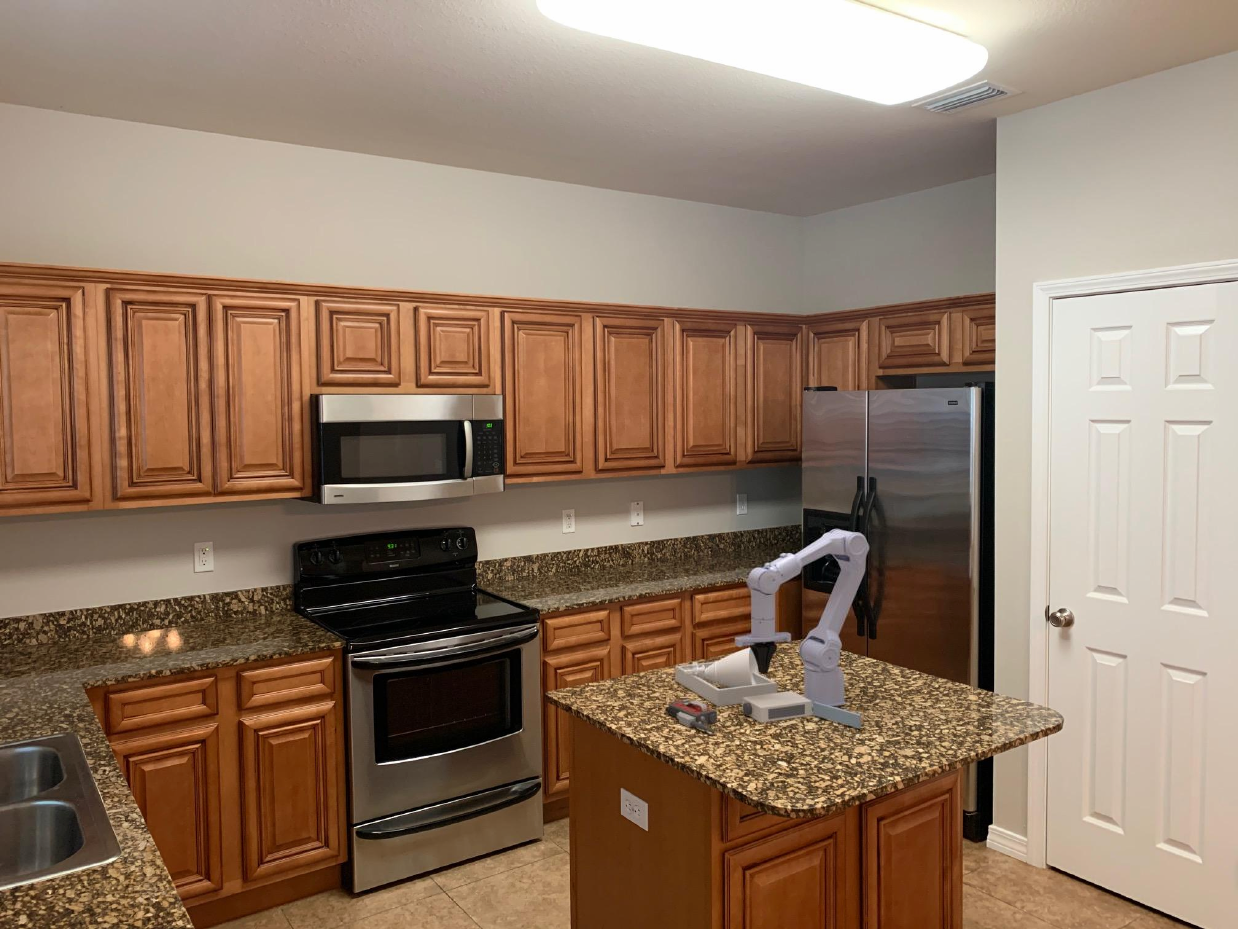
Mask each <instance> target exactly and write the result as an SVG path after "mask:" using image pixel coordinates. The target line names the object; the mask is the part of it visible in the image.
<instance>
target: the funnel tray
mask: <svg viewBox="0 0 1238 929" xmlns="http://www.w3.org/2000/svg"><path fill="white" fill-rule="evenodd" d="M715 662H716V661H712V662H711V661H709V662H702V663H701V662H700V663H698V665H699V668H700V667H701V666H702V665H704V666H705V669H706V668H707V667H709V666H710V665H712V664H713V663H715ZM674 668H675V672H674V674H675V676H674V678H675V679H674V680H675V682H677V683H678V684H680V685H681V686H683V687H685V688H686V689H688V690H690V691H691V692H694V693H695V694H697V695H698V696H700V697H702V698H703V699H705V700H706V701H708V702H709V703H711V704H713V705H714V706H717V707H724V706H731V705H733V706H734V705H739V704H740V705H742V698H743V697H750V696H758V695H765V694H773V693H778V683H777V682H776V681H774V680H772V679H770V678H768V677H767V676H764V675H763V674H761V673H759V672H758V673H752V674H753V678H754V680H755V682H756V685H748V686H740V687H732V688H729V687H725V688H718V687H716V686H715V685H714V684H712V683H709V682H708V681H707V680H706V681H704V680H703V679H701V678H699V677H697V676H695V675H694V674H689V673H688V674H685V673H684V670H688V669H690V670H692V669H693V668H694V667H693V663H692V664H691V663H690V664H683V665H676V666H675V667H674ZM687 668H688V669H687ZM691 668H692V669H691Z"/></svg>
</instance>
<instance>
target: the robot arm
mask: <svg viewBox="0 0 1238 929" xmlns="http://www.w3.org/2000/svg"><path fill="white" fill-rule="evenodd" d="M869 550H870V545H869V543H868V541H867V539H866V536H865V535H864V534H862V533H861V532H858V531H857V532H855V531H854V532H852V531H849V530H848V531H847V530H843V529H840V528H834V529H832V530H830V531H828V532H826V533H824V534H823V535H822V536H821V537H820V538H818V539H817V540H815V541H814V542H812V543H811V544H809V545H807V546H806V547H805V548H803V549H801V550H800V551H798V552H797V553H795V554H793V553H790V552H788V553H784V552H783V553H781V554H779V558H777V559H775V560H773V561H771V562H766V563H764V566H763V567H755V568H753V569H752V570H751V571H750V573H749V574H748V577H747V578H746V580H745V582H746V584H747V587H748V588H749V590H750V596H751V597H750V600H751V601H750V604H751V605H750V608H751V609H750V611H751V614H750V616H751V618H750V619H751V620H750V622H751V624H750V625H751V626H750V627H751V632H750V634H747V635H743V636H737V637H734V646H736V647H738V648H742V647H746V646H749V648H751V650H752V652H753V654H754V656H755V659H756V662H757V668H758V674H760V675H767V674H768V673H769V669H770V665H771V662H772V659H773V656H774V655H775V653H776V651H777V650H778V645H777V644H776V643H781V642H783V643H784V642H788V643H789V642H790V643H791V641H792V633H790V632H787V631H784V632H776V592H777V591H778V590H779V589H780V585H782V584H784V583H786V582H787V581H790V580H791V579H793V578H794V577H797V576H798V575H800V574H801V571H802V569H803V567H804V566H805V565H808V564H810V563H812V562H814V561H817V560H818V559H820V558H822V557H824V556H827V555H832V556H833V558H834V559H835V560H836V561H837V562H838V566H839V568H840V571H839V572H840V573H839V575H838V577H837V580H836V581H835V584H834V586H833V589H832V592H831V594H830V595H829V599H828V601H827V603H826V606H825V608H824V611H823V612H822V615H821V616H820V617H821V618H820V620H819V621H818V622H819V623H818V625H817V626H816V627H814V628H813V629H812V630H810V631H809V632H808V634H807V636H806V638H805V639H803V641H801V642H800V645H799V648H798V655H799V658H800V659H801V660H802V661H803V666H804V668H803V670H804V672H803V673H804V674H803V675H804V679H803V680H804V681H803V683H804V689H803V690H804V692H803V693H804V694H803V697H805V698H807V699H809V700H811V701H812V709H813V702H818V703H821V704H825V705H828V706H832V707H837V706H838V707H839V706H843V705H847V702H846V701H845V677H844V672H843V670H842V669H841V667H839V666H838V664H839V662H840V658H841V657H840V656H841V649H842V646H843V645H842V641H841V638H840V636H839V635H840V633H841V630H842V628H843V626H844V623H845V621H846V618H847V616H848V613H849V611H850V608H851V605H852V604H853V601H854V600H855V597H856V594H857V591H858V589H859V586H860V584H861V582H862V579H863V577H864V575H865V572H866V563H867V562H866V559H867V555H868V552H869Z"/></svg>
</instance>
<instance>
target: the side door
mask: <svg viewBox="0 0 1238 929" xmlns="http://www.w3.org/2000/svg"><path fill="white" fill-rule="evenodd" d="M812 716H816V717H818V718H822V719H826V720H830V721H833V722H836V723H839V724H843V725H847V726H850V727H854V728H857V729H861V728H862V725H864V716H862V714H860V713H857V712H853V711H849V710H847V709H844V708H843V709H842V708H838V707H836V706H828V705H825V704H821V703H818V702H813V708H812Z"/></svg>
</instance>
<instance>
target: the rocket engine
mask: <svg viewBox="0 0 1238 929" xmlns="http://www.w3.org/2000/svg"><path fill="white" fill-rule="evenodd" d="M714 662H715V663H713V664H712V665H710V666H709V667H707V668H706V669H705V666H704V665H702V666H701V667H700V668H699V665H698V664H699V662H697V661H692V664H693V667H694V668H693V669H692V668H691V669H692V670H690V669H688V668H687V669H688V670H684V673H685V674H688V673H689V674H694V675H695V676H697V677H699V678H701V679H703V680H704V681H706V682H707V681H710V682H712V683H714V684H716V685H717V686H724V687H725V688H732V687H740V686H748V685H756V682H755V680H754V678H753V674H752V673H758V674H759V670H758V666H757V662H756V659H755V656H754V654H753V652H752V650H751V648H750V647H748V648H747V647H746V648H744V649H741V650H739V651H736V652H734V653H731V654H729V655H727V656H725V657H723V658H721V659H718V660H715V661H714Z"/></svg>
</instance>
